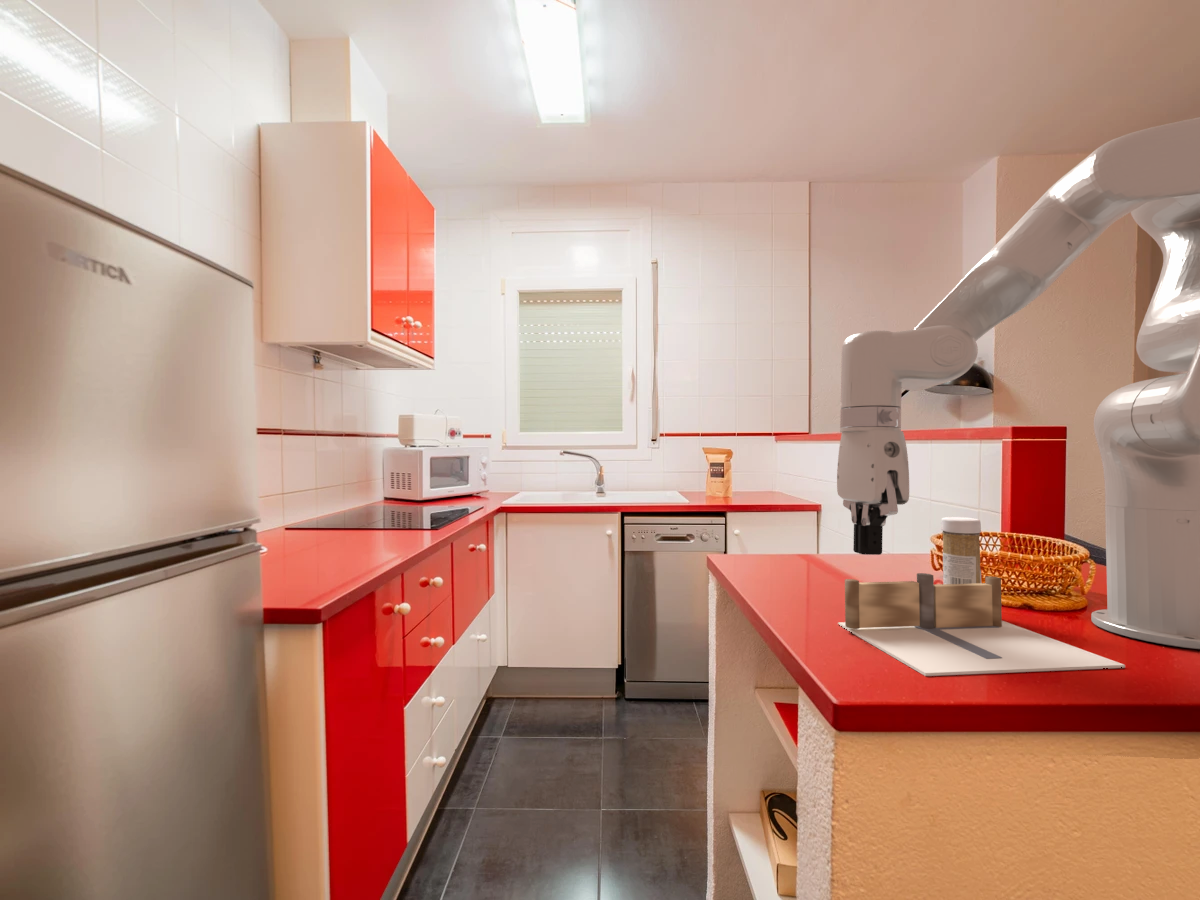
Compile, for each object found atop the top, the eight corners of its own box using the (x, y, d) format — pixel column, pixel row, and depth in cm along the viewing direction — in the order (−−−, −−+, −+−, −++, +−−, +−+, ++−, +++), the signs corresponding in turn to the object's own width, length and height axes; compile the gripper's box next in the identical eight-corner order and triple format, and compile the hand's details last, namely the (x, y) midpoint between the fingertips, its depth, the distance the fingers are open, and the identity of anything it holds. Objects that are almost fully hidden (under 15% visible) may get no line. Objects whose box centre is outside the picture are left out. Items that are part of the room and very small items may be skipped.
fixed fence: (993, 625, 67) (992, 571, 67) (1005, 629, 65) (1004, 574, 65) (914, 627, 66) (913, 573, 66) (924, 632, 64) (923, 576, 64)
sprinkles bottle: (988, 614, 71) (986, 518, 71) (974, 620, 68) (972, 520, 69) (951, 607, 75) (949, 515, 75) (936, 612, 72) (935, 517, 73)
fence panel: (912, 622, 66) (911, 577, 66) (921, 626, 64) (920, 580, 64) (842, 624, 65) (842, 579, 65) (850, 629, 63) (849, 582, 63)
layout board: (993, 619, 69) (993, 616, 69) (1124, 667, 53) (1124, 663, 53) (837, 624, 67) (837, 621, 67) (925, 676, 51) (925, 672, 51)
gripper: (934, 419, 64) (932, 565, 64) (863, 425, 79) (861, 544, 79) (877, 417, 63) (875, 564, 63) (817, 424, 78) (814, 544, 78)
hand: (867, 553), depth 71 cm, fingers closed
